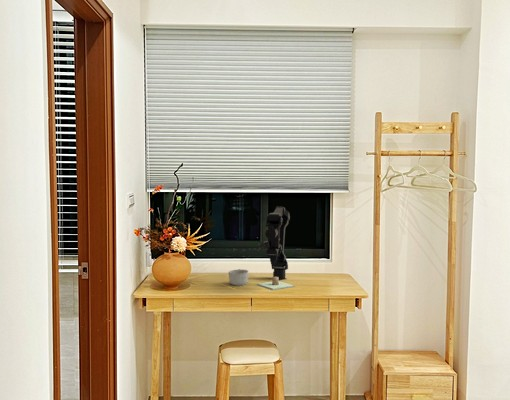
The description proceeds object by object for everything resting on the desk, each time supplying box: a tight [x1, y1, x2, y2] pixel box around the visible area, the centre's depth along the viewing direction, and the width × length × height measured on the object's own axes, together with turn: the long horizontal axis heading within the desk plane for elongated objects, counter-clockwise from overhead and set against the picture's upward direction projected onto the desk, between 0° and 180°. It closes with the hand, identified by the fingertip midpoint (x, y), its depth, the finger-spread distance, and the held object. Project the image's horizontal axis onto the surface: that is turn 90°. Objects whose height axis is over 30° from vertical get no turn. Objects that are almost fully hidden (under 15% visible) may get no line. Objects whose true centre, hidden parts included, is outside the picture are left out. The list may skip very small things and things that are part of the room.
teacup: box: [228, 268, 249, 287], centre depth 322 cm, size 14×11×8 cm
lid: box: [257, 276, 294, 291], centre depth 318 cm, size 14×14×5 cm
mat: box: [255, 283, 297, 291], centre depth 318 cm, size 16×16×1 cm
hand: (273, 264), depth 317 cm, fingers open, 9 cm apart
